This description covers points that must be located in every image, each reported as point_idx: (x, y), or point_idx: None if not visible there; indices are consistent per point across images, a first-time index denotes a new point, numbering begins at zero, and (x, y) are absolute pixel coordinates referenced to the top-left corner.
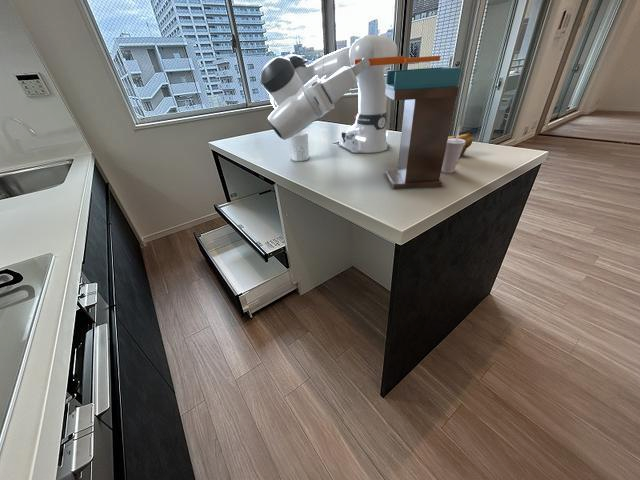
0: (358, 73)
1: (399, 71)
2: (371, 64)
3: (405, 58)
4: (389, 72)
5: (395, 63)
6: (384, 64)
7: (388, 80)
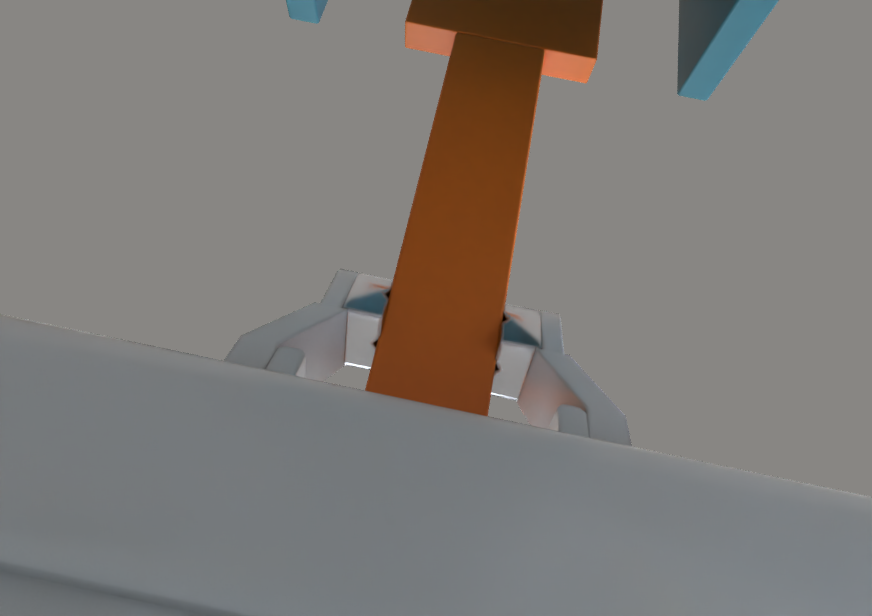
0: (245, 341)
1: (680, 3)
2: (399, 257)
3: (421, 50)
4: (680, 71)
5: (444, 82)
6: (427, 153)
7: (724, 9)
